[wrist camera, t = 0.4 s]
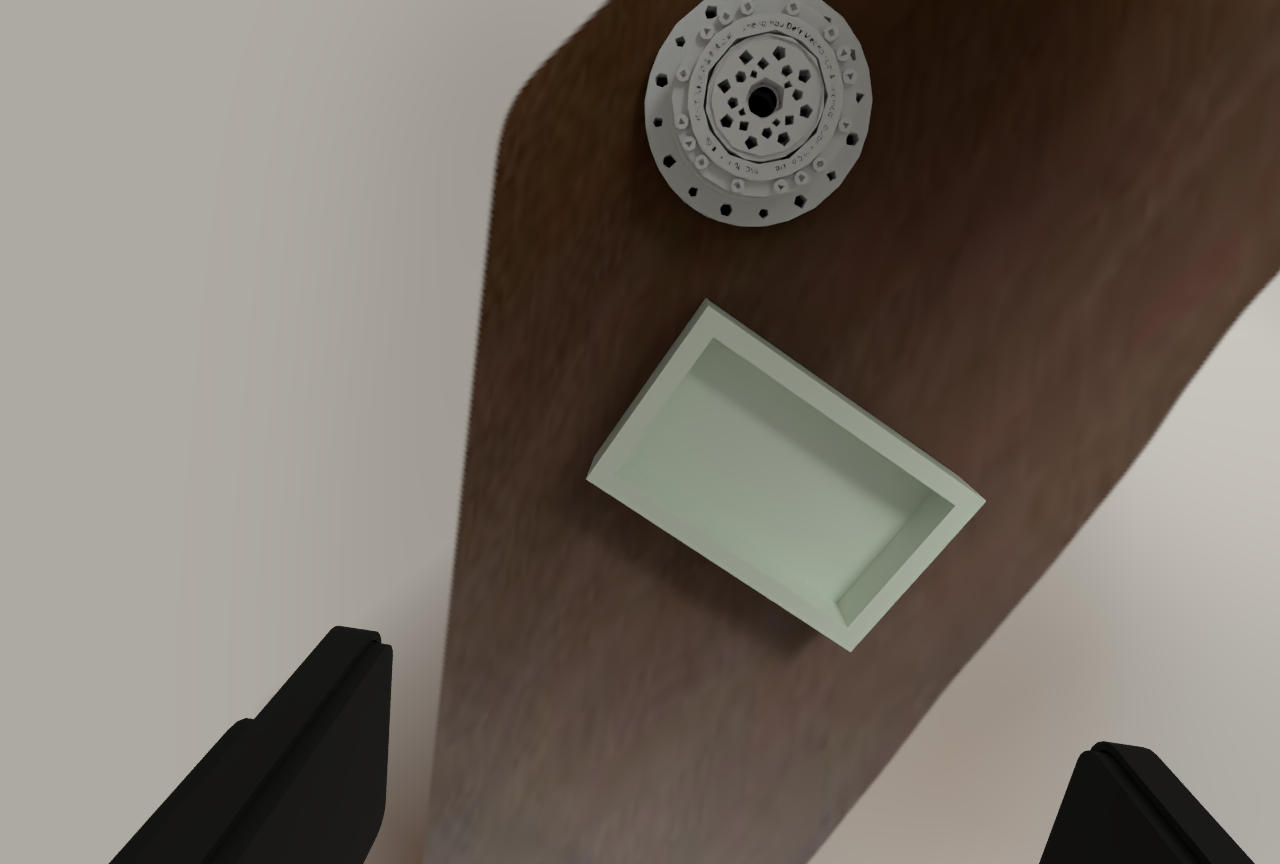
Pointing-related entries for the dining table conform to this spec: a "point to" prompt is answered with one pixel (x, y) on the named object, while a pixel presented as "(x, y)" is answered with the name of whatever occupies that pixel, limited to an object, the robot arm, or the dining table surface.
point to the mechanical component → (717, 156)
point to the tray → (781, 478)
